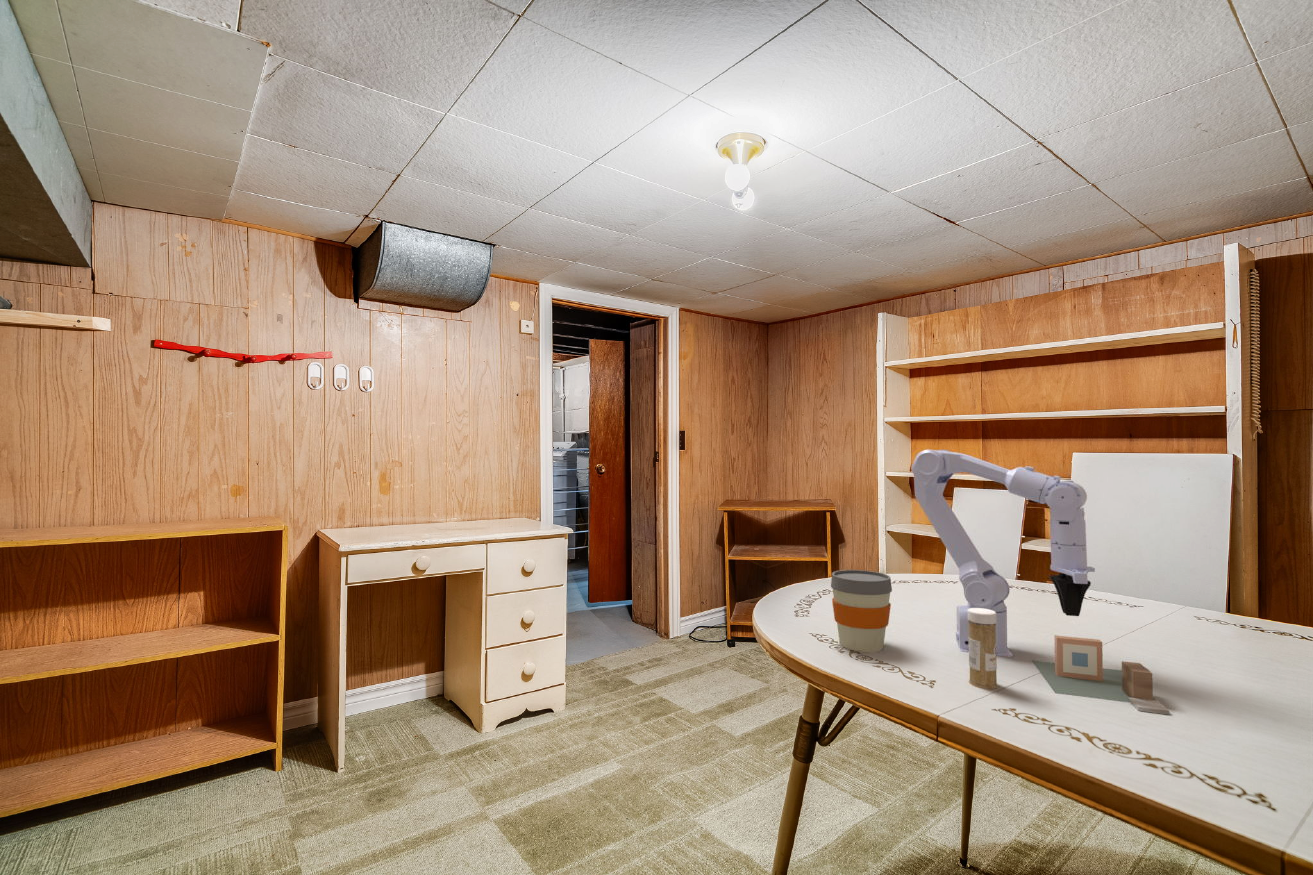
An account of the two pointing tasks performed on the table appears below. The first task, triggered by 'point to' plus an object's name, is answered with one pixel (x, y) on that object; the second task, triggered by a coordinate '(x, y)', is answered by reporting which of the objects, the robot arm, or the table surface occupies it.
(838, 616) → the reusable coffee cup
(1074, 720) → the table surface
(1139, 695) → the two-tone block stack
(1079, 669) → the tile
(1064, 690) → the mat
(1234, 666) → the table surface
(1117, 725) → the table surface
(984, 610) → the sprinkles bottle
